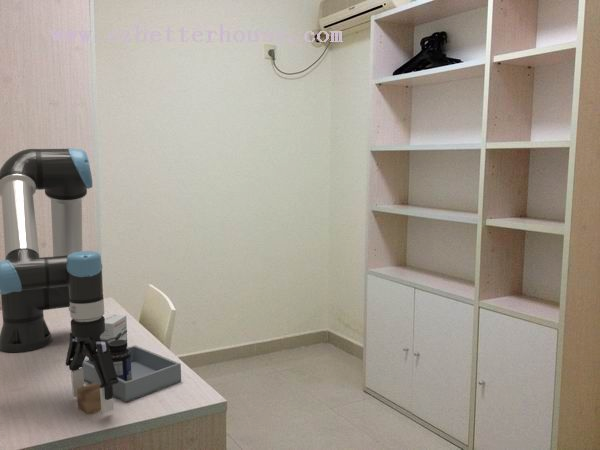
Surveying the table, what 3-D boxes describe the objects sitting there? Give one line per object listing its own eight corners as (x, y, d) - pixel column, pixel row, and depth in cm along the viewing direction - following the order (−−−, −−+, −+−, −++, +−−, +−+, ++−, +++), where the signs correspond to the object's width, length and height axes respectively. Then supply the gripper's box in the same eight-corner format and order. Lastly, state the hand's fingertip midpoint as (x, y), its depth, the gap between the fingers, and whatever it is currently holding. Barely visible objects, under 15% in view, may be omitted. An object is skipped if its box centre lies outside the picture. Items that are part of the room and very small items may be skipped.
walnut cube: (77, 408, 136) (76, 388, 135) (97, 401, 140) (96, 382, 139) (88, 415, 133) (87, 394, 132) (107, 407, 136) (106, 388, 136)
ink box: (114, 362, 165) (112, 323, 163) (99, 361, 166) (97, 322, 164) (129, 351, 173) (127, 314, 171) (114, 350, 174) (112, 313, 172)
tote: (82, 379, 153) (81, 361, 152) (135, 361, 165) (135, 345, 164) (126, 402, 138) (125, 383, 138) (181, 381, 151) (180, 363, 150)
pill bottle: (123, 375, 153) (121, 336, 152) (136, 381, 149) (134, 341, 148) (103, 383, 149) (100, 343, 147) (116, 389, 145) (113, 348, 143)
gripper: (47, 311, 138) (53, 393, 141) (100, 332, 122) (105, 424, 125) (76, 304, 144) (81, 384, 147) (131, 323, 127) (135, 412, 130)
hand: (92, 403), depth 136 cm, fingers open, 13 cm apart
